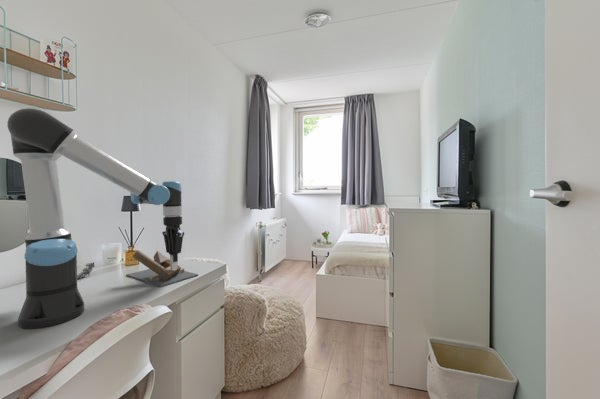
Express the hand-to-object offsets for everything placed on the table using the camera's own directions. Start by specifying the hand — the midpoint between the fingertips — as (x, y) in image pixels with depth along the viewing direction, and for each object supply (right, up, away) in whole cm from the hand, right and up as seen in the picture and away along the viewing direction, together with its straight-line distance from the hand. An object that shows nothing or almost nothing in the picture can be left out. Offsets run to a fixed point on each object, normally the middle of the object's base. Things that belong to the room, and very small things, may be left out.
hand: (174, 268), depth 120 cm
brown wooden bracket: (0, -3, +1) cm, 3 cm away
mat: (-8, -5, +5) cm, 11 cm away
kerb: (-4, -5, +3) cm, 7 cm away
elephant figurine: (-42, -5, +4) cm, 42 cm away
